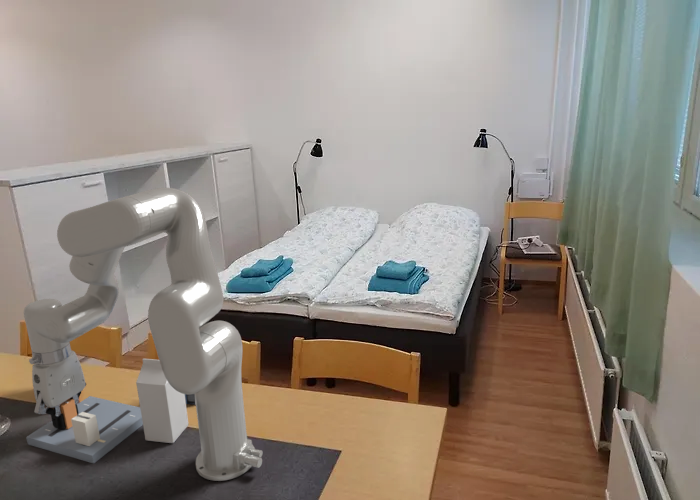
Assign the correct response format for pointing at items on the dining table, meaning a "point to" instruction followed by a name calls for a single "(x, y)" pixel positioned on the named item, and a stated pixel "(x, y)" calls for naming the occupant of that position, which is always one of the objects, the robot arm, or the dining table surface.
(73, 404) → the orange fader knob
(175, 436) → the milk carton
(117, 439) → the fader console
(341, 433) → the dining table surface
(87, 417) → the cream knob
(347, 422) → the dining table surface
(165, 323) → the robot arm
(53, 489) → the dining table surface
